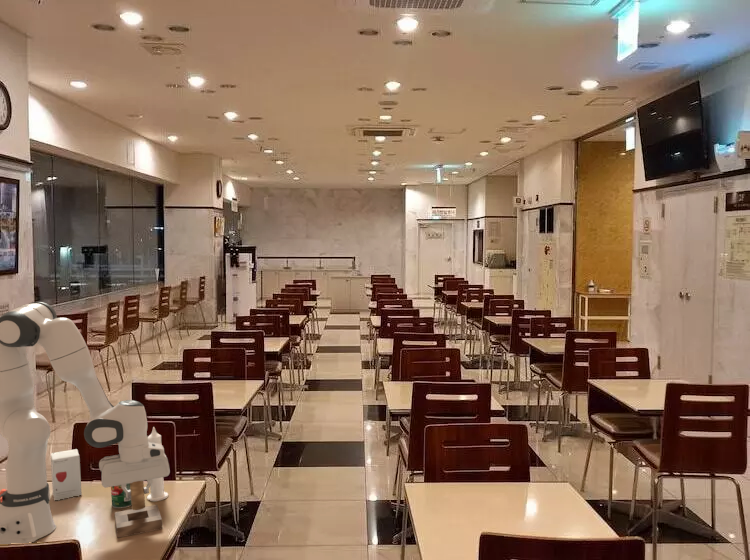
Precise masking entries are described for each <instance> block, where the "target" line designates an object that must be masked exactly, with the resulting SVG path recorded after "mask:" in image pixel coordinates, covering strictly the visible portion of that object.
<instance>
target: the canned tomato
mask: <svg viewBox="0 0 750 560" xmlns="http://www.w3.org/2000/svg"><path fill="white" fill-rule="evenodd" d="M126 489H127V490H130V483H128V484H126ZM110 493H111V507H113V508H115V509H123V508H124V509H125V508H128V506H129V507H132V506H131V505H132V504H131V497H127V498H126V492H125V491H124V490H123V489H122V487H121V485H117V486H112V487H110Z"/></svg>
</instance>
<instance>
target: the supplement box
mask: <svg viewBox="0 0 750 560" xmlns="http://www.w3.org/2000/svg"><path fill="white" fill-rule="evenodd" d="M80 462H81V458H80V454H79V450H78V449H77V448H75V449H69V450H60V451H57V452H55V451H54V452H51V453H50V469H51V486H52V489H51V490H52V496H53V500H54V501H55V500H58V501H61V500H60V499H63V500H65V499H64V498H68V499H70V498H69V497H73V496H78V497H80V496H79V495H83V494H82V481H81V480H82V477H81V463H80ZM73 498H74V497H73Z"/></svg>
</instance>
